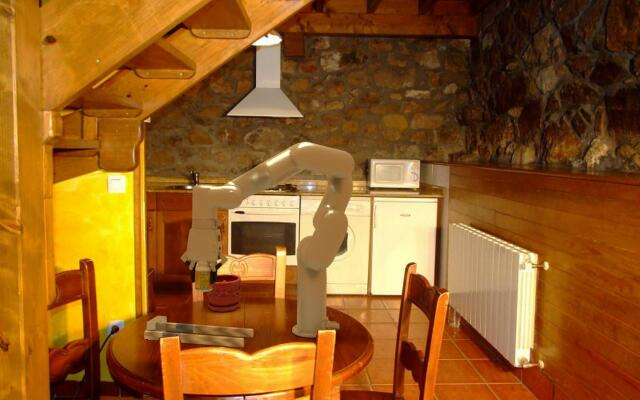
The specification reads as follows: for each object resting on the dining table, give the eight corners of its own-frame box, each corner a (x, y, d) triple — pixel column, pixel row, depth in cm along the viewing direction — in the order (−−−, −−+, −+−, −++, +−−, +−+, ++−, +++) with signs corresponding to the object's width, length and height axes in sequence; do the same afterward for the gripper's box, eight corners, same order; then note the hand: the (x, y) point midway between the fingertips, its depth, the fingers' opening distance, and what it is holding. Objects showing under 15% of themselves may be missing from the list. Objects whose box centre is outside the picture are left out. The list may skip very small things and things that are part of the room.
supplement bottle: (198, 292, 156) (199, 261, 156) (192, 289, 161) (192, 258, 160) (215, 290, 159) (215, 259, 159) (208, 287, 164) (209, 257, 163)
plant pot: (206, 304, 200) (206, 274, 199) (240, 303, 202) (240, 273, 202) (205, 314, 187) (205, 281, 186) (241, 313, 190) (241, 280, 189)
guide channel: (253, 336, 163) (253, 321, 163) (242, 347, 154) (242, 331, 153) (160, 329, 169) (160, 314, 169) (144, 339, 160) (144, 323, 159)
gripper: (235, 224, 161) (234, 282, 162) (183, 222, 164) (183, 278, 165) (226, 227, 154) (225, 287, 155) (173, 224, 157) (172, 283, 158)
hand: (203, 282), depth 160 cm, fingers closed on supplement bottle, 5 cm apart
